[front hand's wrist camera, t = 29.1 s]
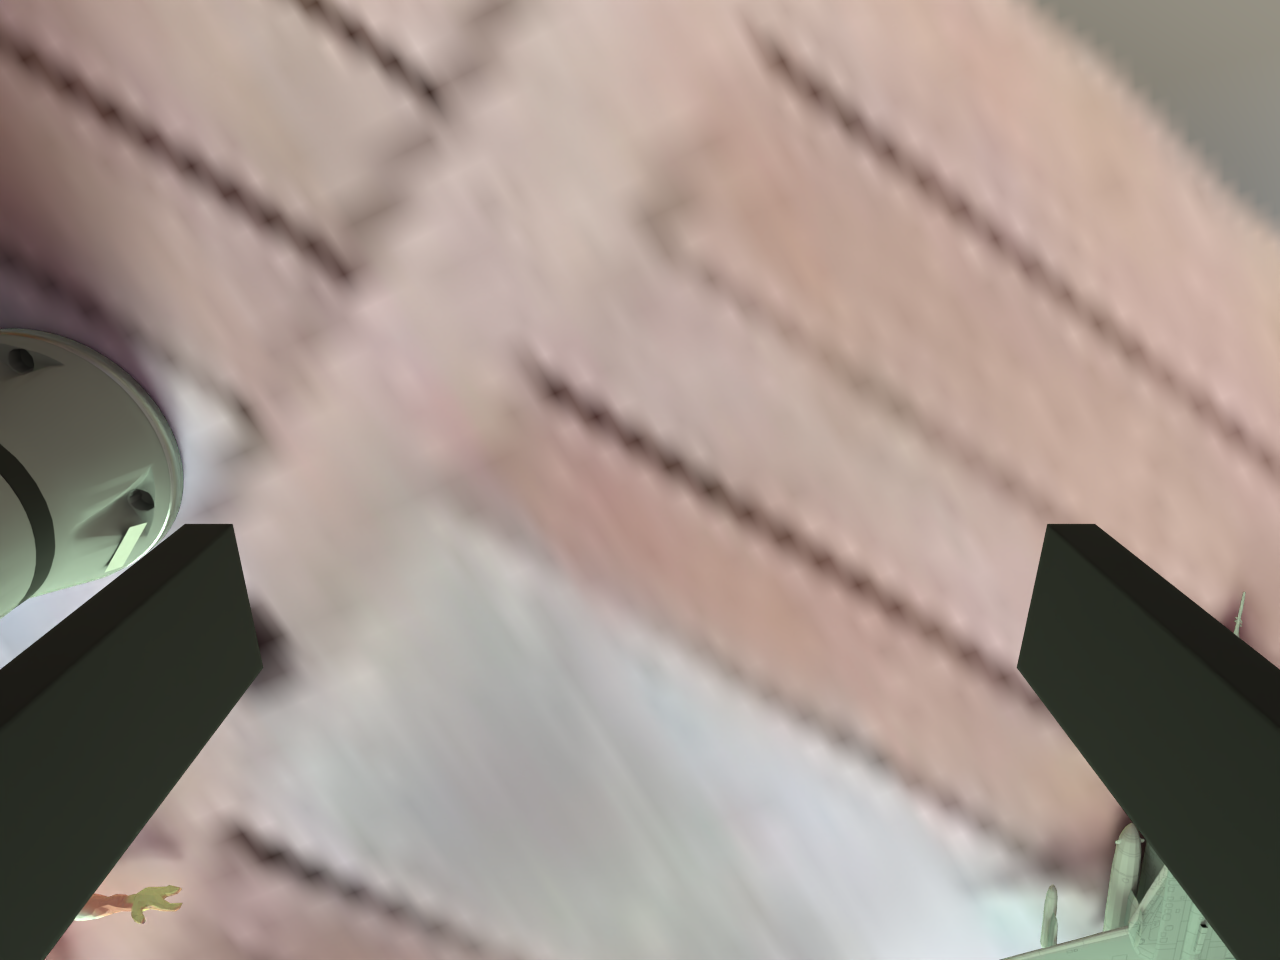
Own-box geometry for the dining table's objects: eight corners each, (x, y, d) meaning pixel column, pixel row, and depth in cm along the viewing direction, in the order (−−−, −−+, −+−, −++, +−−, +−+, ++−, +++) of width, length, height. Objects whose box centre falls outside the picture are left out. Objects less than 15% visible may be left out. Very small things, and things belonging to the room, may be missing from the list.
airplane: (1452, 908, 61) (1600, 1039, 51) (1092, 1087, 68) (1164, 1230, 59) (1225, 578, 51) (1356, 665, 42) (832, 827, 58) (869, 950, 49)
